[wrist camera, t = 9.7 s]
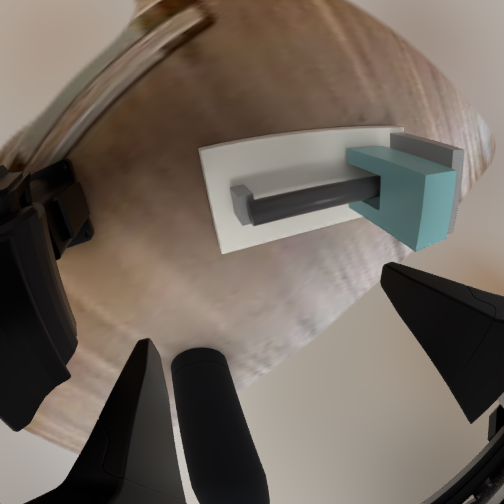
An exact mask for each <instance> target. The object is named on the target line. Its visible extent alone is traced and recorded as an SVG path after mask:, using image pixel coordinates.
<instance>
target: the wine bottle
mask: <svg viewBox="0 0 504 504" xmlns="http://www.w3.org/2000/svg"><path fill="white" fill-rule="evenodd" d="M171 372H172V381H173V388H174V396H175V403H176V410H177V416H178V422H179V428H180V433H181V439H182V444H183V449H184V454H185V459H186V464H187V468H188V473H189V477H190V481H191V485H192V489H193V491H194V493H195V495H196V497H197V499H198V501H199V503H200V504H270V499H269V491H268V485H267V480H266V475H265V472H264V469H263V467H262V464H261V462H260V459H259V456H258V454H257V451H256V448H255V445H254V443H253V440H252V437H251V434H250V431H249V428H248V426H247V423H246V420H245V417H244V414H243V411H242V408H241V405H240V402H239V399H238V396H237V393H236V390H235V386H234V383H233V380H232V377H231V374H230V371H229V367H228V364H227V361H226V359H225V357H224V355H222V354H221V353H220V352H218V351H216V350H213V349H207V348H197V349H191V350H188V351H185V352H183V353H181V354H179V355H178V356H177V357H176V358H175V359H174V360H173V362H172V365H171Z"/></svg>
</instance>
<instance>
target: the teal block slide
mask: <svg viewBox="0 0 504 504" xmlns="http://www.w3.org/2000/svg"><path fill="white" fill-rule="evenodd" d="M371 146H384V147H388V148H391V149H395V150H398V151H402V152H405V153H408V154H411V155H415V156H418V157H421V158H424V159H427V160H429V161H432V162H435V163H438V164H441V165H443V166H446V167H449V168H451V169H454V170H456V181H455V190H454V197H453V204H452V210H451V216H450V222H449V227H448V232H447V235H448V234H450V233H453V230H454V226H455V220H456V214H457V209H458V203H459V197H460V190H461V181H462V172H463V161H464V150H463V149H460V148H457V147H454V146H451V145H448V144H444V143H441V142H437V141H434V140H430V139H426V138H423V137H419V136H415V135H410V134H406V133H404V128H403V127H398V126H393V125H385V126H352V127H335V128H323V129H312V130H302V131H293V132H285V133H278V134H271V135H264V136H258V137H251V138H246V139H240V140H234V141H229V142H224V143H219V144H214V145H210V146H205V147H201V148H198V151H199V156H200V161H201V166H202V171H203V176H204V181H205V186H206V190H207V195H208V200H209V205H210V209H211V214H212V218H213V223H214V228H215V232H216V237H217V241H218V245H219V248H220V250H221V253H222V254H225V253H229V252H233V251H236V250H240V249H244V248H247V247H251V246H255V245H259V244H262V243H266V242H270V241H273V240H277V239H281V238H285V237H288V236H292V235H296V234H300V233H303V232H307V231H311V230H315V229H318V228H322V227H326V226H330V225H333V224H337V223H341V222H345V221H349V220H352V219H356V218H360V217H363V216H362V215H360V214H358V213H357V212H355V211H354V210H352V209H350V208H349V203H353V202H358V201H362V200H366V199H371V198H375V197H380V187H381V176H380V175H377V174H375V173H372V172H370V171H367V170H365V169H362V168H359V167H357V166H354V165H351V164H349V163H348V149H350V148H360V147H371Z"/></svg>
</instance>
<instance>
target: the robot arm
mask: <svg viewBox="0 0 504 504" xmlns="http://www.w3.org/2000/svg"><path fill="white" fill-rule="evenodd" d="M63 163H65V164H66V165H67V168H66V169H64V168H63ZM89 214H90V212H89V209H88V206H87V203H86V200H85V197H84V194H83V191H82V188H81V185H80V183H79V182H77V181H76V178H75V175H74V171H73V168H72V164H71V162H70V160H69V159H63V160H61V161H59V162H56V163H54V164H52V165H50V166H48V167H46V168H44V169H41V170H39V171H37V172H35V173H33V174H31V175H30V172H26V173H23V172H22V171H21V172H15V173H12V172H9V171H8V170H7V169H6V168H5V166H4V165H1V166H0V419H1V420H2V421H3V422H4V423H5V424H6V425H8V426H9V427H10V428H11V429H12V430H13V431H16V432H18V431H20V430H21V429H23V428H24V427H26V426H27V425H28V424H29V423H30V422H31V421H32V419H33V417H34V415H35V413H36V411H37V410H38V408H39V406H40V404H41V403H42V401H43V400H44V398H45V397H46V396H47V395H48V394H49V393H50V392H51V391H52V390H53V389H54V388H55V387H56V386H58V385H60V384H61V383H63V382H65V381H66V380H68V379H70V377H71V374H70V372H69V371H68V369H67V367H66V365H67V363H68V362H69V360H70V359H71V357H72V356H73V354H74V353H75V350H76V347H77V344H78V340H77V338H76V336H77V329H76V321H75V318H74V316H73V313H72V310H71V307H70V305H69V302H68V299H67V296H66V293H65V290H64V287H63V284H62V280H61V277H60V274H59V270H58V267H57V263H56V260H58V259H60V258H61V256H62V254H63V253H64V251H65V250H66V248H68V247H71V246H74V245H77V244H80V243H83V242H86V241H89V240H91V239H92V237H93V235H94V231H93V228H92V225H91V223H90V220H89ZM85 232H89V233H90V235H86V234H85ZM380 283H381V286H382V288H383V290H384V291H385V293H386V294H387V296H388V298H389V299H390V301H391V303H392V304H393V306H394V308H395V309H396V311H397V312H398V314H399V316H400V317H401V318H402V320H403V321H404V322H405V324H406V325H407V326H408V328H409V329H410V331H411V332H412V333H413V334H414V336H415V338H416V339H417V340H418V342H419V343H420V345H421V346H422V348H423V349H424V350H425V352H426V353H427V355H428V356H429V357H430V359H431V361H432V362H433V364H434V365H435V367H436V368H437V370H438V371H439V373H440V374H441V376H442V377H443V379H444V381H445V382H446V383H447V385H448V387H449V388H450V390H451V392H452V394H453V395H454V397H455V399H456V400H457V402H458V403H459V405H460V407H461V409H462V410H463V412H464V414H465V415H466V417H467V419H468V421H469V422H470V424H472V423H473V422H474V421H475V420H476V419H477V418H478V417H480V416H481V415H482V414H483V413H484V412H485V411H486V410H487V409H488V408H489V407H490V406H491V405H492V404H493V403H494V402H495V401H496V400H497V401H498V402H499V403H500V404H499V405H498V407H497V408H496V409H495V410H494V411H493V412H492V413H491V415H490V416H489V430H488V441H489V443H488V444H487V445H486V446H485V448H484V449H483V450H482V451H481V452H480V453H479V454H478V455H477V456H476V457H475V458H474V459H473V460H472V461H471V462H470V463H469V464H468V465H467V466H466V467H465V468H464V469H463V470H462V471H460V472H459V473H458V474H457V475H456V476H455V477H454V478H453V479H452V480H450V481H449V482H448V483H447V484H446V485H445V486H443V487H442V488H441V489H440V490H438V491H437V492H436V493H434V494H433V495H432V496H431V497H429V498H428V499H426V500H425V501H424V502H422V503H421V504H462V503H463V502H465V501H466V499H468V498H469V497H470V496H471V495H472V494H473V495H474V497H475V498H473V499H472V500H470V501H469V502H467V503H466V504H504V296H500V295H497V294H492V293H489V292H486V291H482V290H479V289H476V288H473V287H470V286H466V285H464V284H461V283H457V282H455V281H452V280H449V279H446V278H442V277H439V276H436V275H433V274H430V273H427V272H424V271H421V270H417V269H414V268H411V267H408V266H404V265H401V264H398V263H395V262H390V263H387V264H385V265H384V266H383V268H382V274H381V280H380ZM185 501H186V500H185V495H184V491H183V486H182V481H181V476H180V471H179V466H178V460H177V455H176V449H175V442H174V435H173V428H172V420H171V412H170V404H169V396H168V391H167V387H166V382H165V377H164V373H163V368H162V363H161V358H160V355H159V352H158V351H157V349H156V347H155V346H154V344H153V342H152V340H151V339H150V338H146V339H142V340H139V341H138V342H137V344H136V346H135V347H134V349H133V351H132V353H131V355H130V357H129V359H128V360H127V362H126V364H125V366H124V368H123V370H122V372H121V374H120V376H119V378H118V380H117V382H116V383H115V385H114V387H113V389H112V391H111V393H110V395H109V397H108V399H107V401H106V404H105V406H104V408H103V410H102V412H101V414H100V416H99V419H98V420H97V422H96V424H95V426H94V428H93V430H92V432H91V435H90V437H89V439H88V441H87V442H86V444H85V446H84V448H83V450H82V451H81V453H80V455H79V457H78V458H77V460H76V462H75V463H74V465H73V467H72V469H71V470H70V472H69V474H68V476H67V477H66V479H65V480H64V481H63V483H62V484H61V485H59V486H58V487H57V488H56V489H53V490H51V491H49V492H47V493H46V494H43V495H41V496H39V497H37V498H35V499H33V500H31V501H28V502H26V503H24V504H187V503H186V502H185Z"/></svg>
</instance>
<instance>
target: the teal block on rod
mask: <svg viewBox="0 0 504 504" xmlns="http://www.w3.org/2000/svg"><path fill="white" fill-rule="evenodd" d="M348 163H349V164H351V165H354V166H357V167H359V168H362V169H365V170H367V171H370V172H372V173H375V174H377V175H380V176H381V187H380V197H375V198H371V199H366V200H362V201H358V202H353V203H349V208H350V209H352V210H354V211H355V212H357V213H358V214H360V215H362V216H363V217H365V218H366V219H368V220H369V221H371V222H373V223H374V224H376V225H377V226H379V227H380V228H382V229H383V230H385V231H386V232H388V233H389V234H391V235H392V236H394V237H395V238H397V239H398V240H399V241H401V242H402V243H404V244H405V245H407V246H408V247H409V248H411V249H412V250H414V251H415V252H416V251H418V250H421V249H423V248H425V247H428V246H430V245H432V244H435V243H437V242H439V241H442V240H444V239H446V237H447V232H448V227H449V222H450V216H451V210H452V204H453V197H454V190H455V181H456V170H454V169H451V168H449V167H446V166H443V165H441V164H438V163H435V162H432V161H429V160H427V159H424V158H421V157H418V156H415V155H411V154H408V153H405V152H402V151H398V150H395V149H391V148H388V147H384V146H371V147H360V148H350V149H348Z"/></svg>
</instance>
